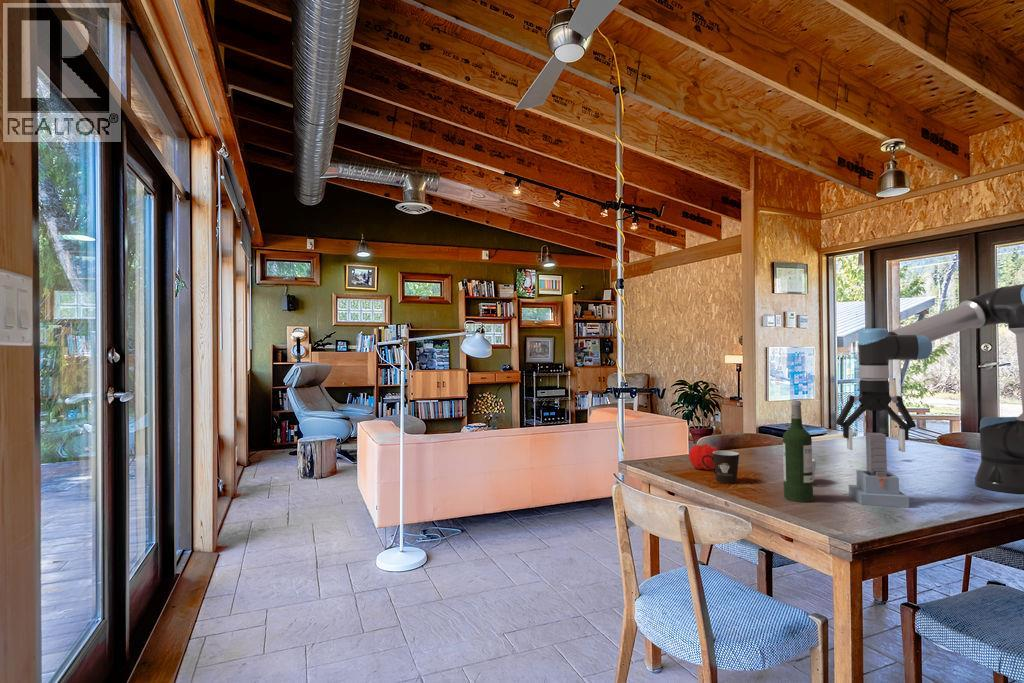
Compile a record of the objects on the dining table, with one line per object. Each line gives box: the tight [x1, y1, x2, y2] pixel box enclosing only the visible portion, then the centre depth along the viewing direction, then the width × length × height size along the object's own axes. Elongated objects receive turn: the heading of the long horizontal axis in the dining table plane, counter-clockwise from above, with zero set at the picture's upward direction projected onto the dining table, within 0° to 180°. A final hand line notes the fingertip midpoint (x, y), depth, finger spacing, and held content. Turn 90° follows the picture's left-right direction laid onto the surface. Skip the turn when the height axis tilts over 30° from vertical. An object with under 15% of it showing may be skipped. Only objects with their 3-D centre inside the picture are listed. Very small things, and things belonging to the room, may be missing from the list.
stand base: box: [847, 469, 910, 508], centre depth 161 cm, size 12×12×9 cm
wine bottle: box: [782, 399, 814, 503], centre depth 164 cm, size 8×8×30 cm
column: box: [865, 432, 888, 476], centre depth 161 cm, size 4×5×20 cm
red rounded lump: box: [688, 443, 720, 471], centre depth 208 cm, size 11×12×9 cm
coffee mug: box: [702, 450, 740, 485], centre depth 188 cm, size 12×9×10 cm
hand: (875, 450), depth 161 cm, fingers open, 13 cm apart
